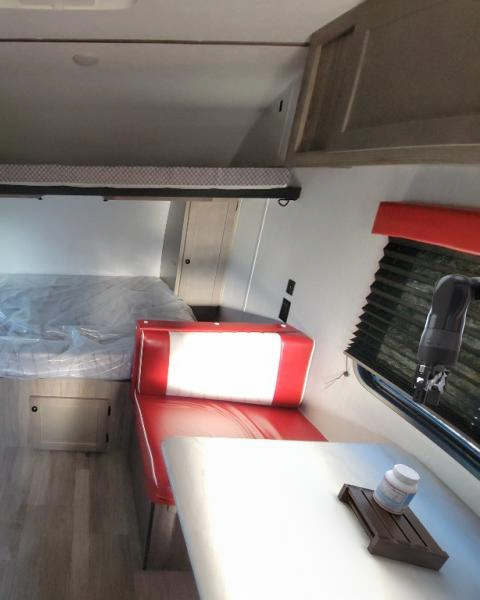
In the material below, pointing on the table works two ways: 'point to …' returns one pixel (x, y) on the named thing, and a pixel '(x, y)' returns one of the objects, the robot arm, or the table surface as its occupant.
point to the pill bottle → (397, 489)
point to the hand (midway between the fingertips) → (425, 403)
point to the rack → (393, 531)
